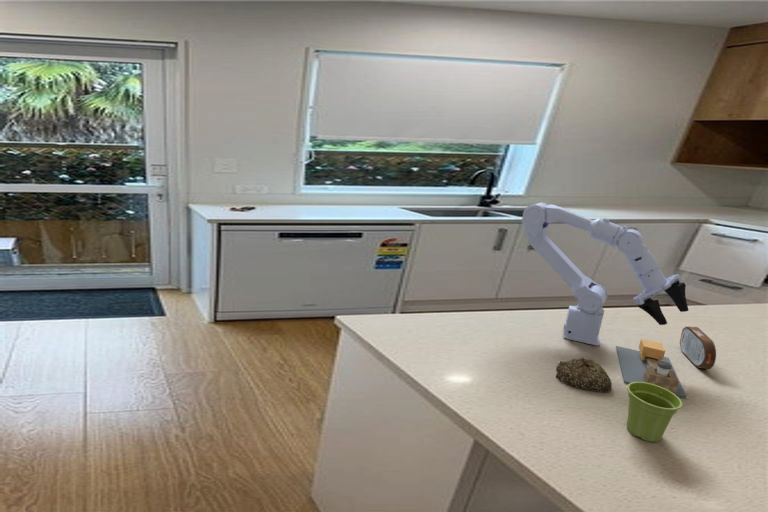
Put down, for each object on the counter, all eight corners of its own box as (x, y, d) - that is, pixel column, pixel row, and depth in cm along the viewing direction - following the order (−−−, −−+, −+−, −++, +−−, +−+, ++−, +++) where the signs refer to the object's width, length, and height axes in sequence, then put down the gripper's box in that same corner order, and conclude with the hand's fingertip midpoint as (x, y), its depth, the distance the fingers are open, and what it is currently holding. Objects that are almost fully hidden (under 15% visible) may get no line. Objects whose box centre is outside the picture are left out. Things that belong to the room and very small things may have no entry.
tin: (712, 375, 116) (721, 346, 114) (698, 373, 117) (708, 343, 114) (686, 349, 130) (694, 322, 128) (674, 347, 131) (682, 320, 128)
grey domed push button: (654, 380, 106) (659, 365, 105) (652, 375, 108) (657, 359, 107) (668, 384, 105) (672, 368, 104) (665, 378, 107) (670, 362, 106)
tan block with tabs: (640, 359, 119) (643, 346, 117) (637, 351, 123) (641, 338, 122) (661, 364, 117) (665, 351, 116) (657, 356, 121) (661, 343, 120)
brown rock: (613, 398, 101) (618, 379, 100) (556, 385, 105) (560, 366, 103) (604, 371, 113) (609, 353, 112) (553, 360, 116) (557, 343, 115)
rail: (651, 380, 109) (652, 375, 109) (641, 352, 124) (643, 348, 123) (662, 383, 108) (664, 377, 108) (651, 355, 123) (652, 350, 122)
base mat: (624, 383, 108) (624, 381, 108) (615, 347, 127) (616, 345, 127) (686, 398, 104) (686, 396, 103) (668, 359, 122) (668, 357, 122)
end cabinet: (645, 387, 106) (649, 374, 105) (642, 377, 110) (646, 364, 109) (674, 394, 104) (679, 381, 103) (670, 384, 108) (674, 371, 107)
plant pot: (607, 416, 94) (617, 380, 91) (649, 417, 95) (660, 381, 92) (635, 447, 85) (647, 408, 82) (681, 448, 86) (694, 409, 83)
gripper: (637, 281, 113) (665, 329, 112) (679, 256, 116) (707, 303, 115) (619, 284, 120) (645, 330, 118) (659, 262, 123) (684, 306, 122)
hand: (674, 317), depth 117 cm, fingers open, 7 cm apart
